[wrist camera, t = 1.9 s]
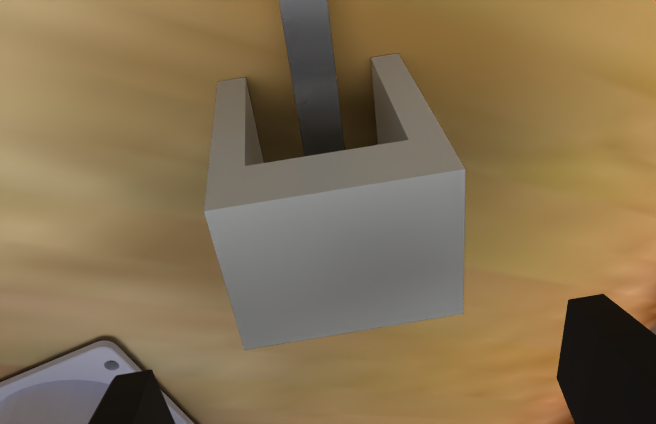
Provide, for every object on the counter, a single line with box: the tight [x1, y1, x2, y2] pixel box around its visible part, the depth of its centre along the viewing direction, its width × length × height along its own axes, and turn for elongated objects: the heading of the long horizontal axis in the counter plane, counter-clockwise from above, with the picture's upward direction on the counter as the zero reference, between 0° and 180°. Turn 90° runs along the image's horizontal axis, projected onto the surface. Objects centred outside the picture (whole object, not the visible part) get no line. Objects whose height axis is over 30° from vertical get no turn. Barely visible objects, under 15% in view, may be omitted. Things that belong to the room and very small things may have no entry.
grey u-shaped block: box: [204, 53, 465, 350], centre depth 16 cm, size 4×5×6 cm
